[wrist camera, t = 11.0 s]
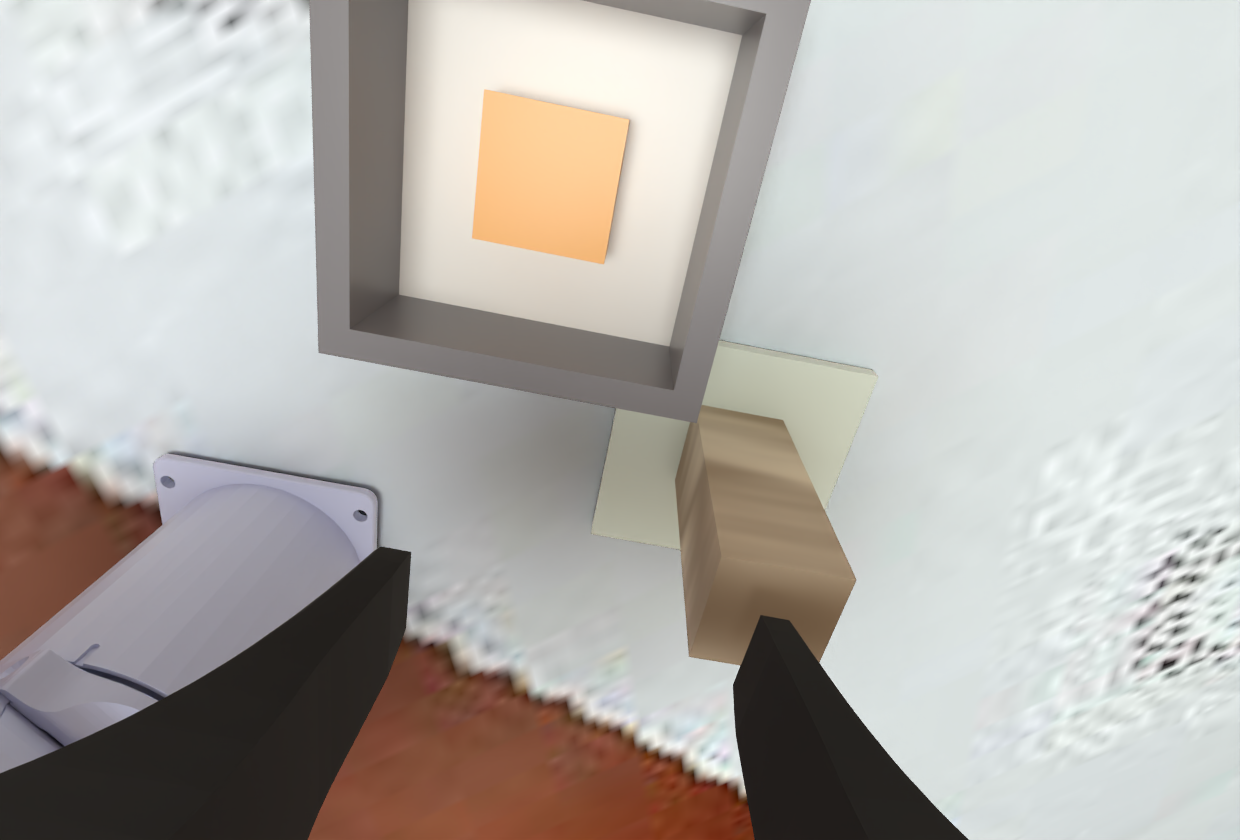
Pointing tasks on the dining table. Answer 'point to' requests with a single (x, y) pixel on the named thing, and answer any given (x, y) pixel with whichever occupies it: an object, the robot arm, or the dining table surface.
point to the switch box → (520, 278)
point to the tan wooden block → (753, 537)
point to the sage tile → (744, 382)
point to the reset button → (547, 176)
